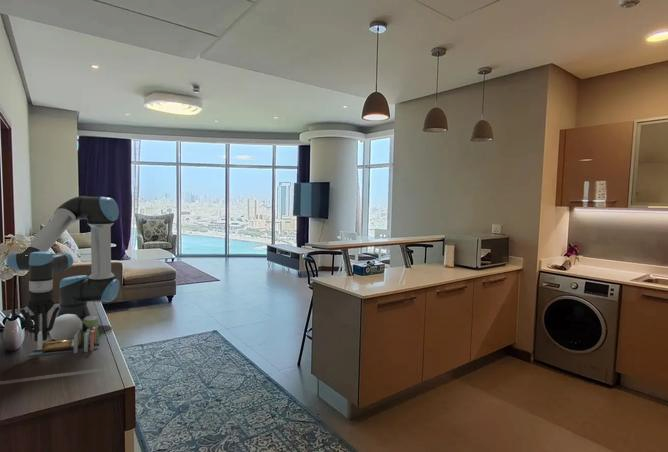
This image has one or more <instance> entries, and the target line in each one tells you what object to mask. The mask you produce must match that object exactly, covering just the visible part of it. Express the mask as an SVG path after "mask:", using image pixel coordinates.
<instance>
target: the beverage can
mask: <svg viewBox="0 0 668 452" xmlns="http://www.w3.org/2000/svg"><path fill="white" fill-rule="evenodd" d="M93 327H96V342H98V341H99V338H100V336H99V334H100V330H99V329H100V319H99V318H98V315H92V314H91V316H87V317H85V318H84V320H83V323H82V335H81V342H82V343H84V335H85V333H86V331H87V328H91V331H92V328H93Z"/></svg>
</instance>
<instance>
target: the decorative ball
mask: <svg viewBox="0 0 668 452" xmlns="http://www.w3.org/2000/svg"><path fill="white" fill-rule="evenodd" d="M78 329H81V331H83V323H82V321H81V320H80V318H78V316H77V315H75V314H64V315H61V316H59V317H57V318H56V319H55V322H54V326H53V328H52V330H51V331H48V333H49V335H50V337H51V339H52V340H54V341H61V340H71V339H74V335H75V333H76V331H77V330H78Z"/></svg>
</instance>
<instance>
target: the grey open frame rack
mask: <svg viewBox="0 0 668 452" xmlns="http://www.w3.org/2000/svg"><path fill="white" fill-rule="evenodd" d="M100 345H101V343H100V342H96V343H94V350H93V351H90V344H88V352H87V353H89V352H98V351H99V347H100ZM81 353H85V352H84V343H81V345H80V346H79V349H78V353H77V354H81ZM71 354H75V353H74V349H70V350H61V351H52V352H42V350H38V348H33V349H32V352H31V353H29V354H28V357H27V359H34V358H45V357H53V356H60V355H61V356H62V355H71Z"/></svg>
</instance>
